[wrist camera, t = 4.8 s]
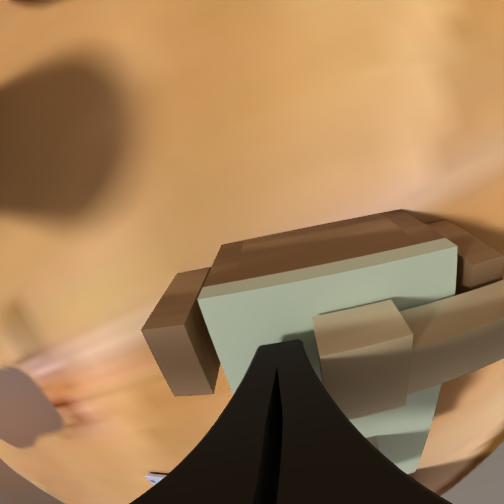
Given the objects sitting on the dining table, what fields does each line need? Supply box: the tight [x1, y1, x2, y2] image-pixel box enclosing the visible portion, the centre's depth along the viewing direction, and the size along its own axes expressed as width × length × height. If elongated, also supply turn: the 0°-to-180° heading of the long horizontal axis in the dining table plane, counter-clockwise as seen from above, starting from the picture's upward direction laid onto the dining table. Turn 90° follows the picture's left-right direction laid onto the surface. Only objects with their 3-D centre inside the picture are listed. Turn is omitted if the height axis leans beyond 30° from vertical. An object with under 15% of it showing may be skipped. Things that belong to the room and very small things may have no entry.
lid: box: [197, 238, 457, 474], centre depth 10 cm, size 14×8×5 cm, turn 13°
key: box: [312, 280, 504, 420], centre depth 8 cm, size 3×10×2 cm, turn 104°
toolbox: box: [141, 209, 504, 396], centre depth 13 cm, size 14×13×5 cm
